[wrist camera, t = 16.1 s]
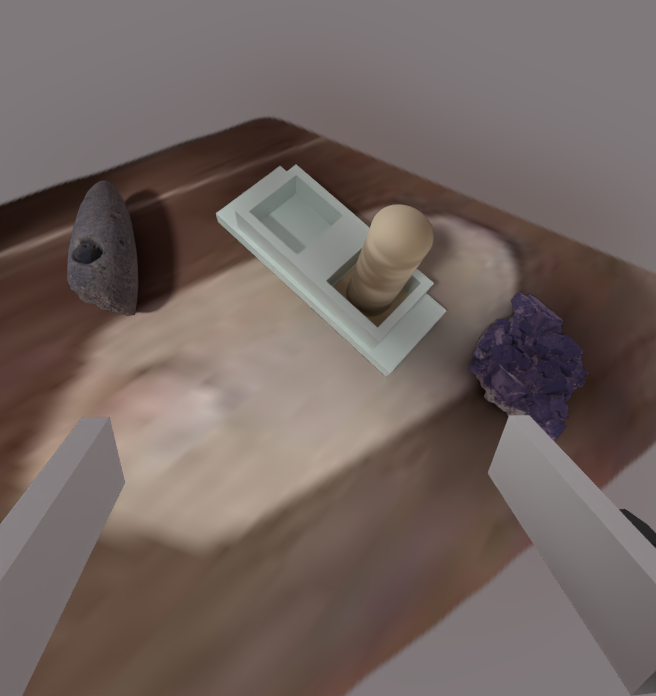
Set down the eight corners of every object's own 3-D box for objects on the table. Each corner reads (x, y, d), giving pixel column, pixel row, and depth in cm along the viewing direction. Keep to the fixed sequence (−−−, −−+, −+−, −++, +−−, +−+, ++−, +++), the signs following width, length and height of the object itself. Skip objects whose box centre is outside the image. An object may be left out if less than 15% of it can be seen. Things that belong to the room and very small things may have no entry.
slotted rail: (218, 221, 43) (211, 195, 38) (280, 175, 45) (280, 145, 41) (386, 376, 39) (398, 366, 35) (441, 315, 42) (459, 299, 38)
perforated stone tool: (98, 205, 42) (63, 157, 35) (147, 204, 42) (122, 156, 36) (91, 331, 37) (50, 303, 31) (146, 326, 38) (118, 298, 32)
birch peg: (336, 296, 40) (357, 233, 28) (365, 265, 41) (396, 193, 29) (372, 325, 39) (408, 274, 28) (400, 293, 41) (445, 231, 29)
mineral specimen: (585, 357, 44) (616, 345, 40) (529, 444, 39) (559, 440, 35) (510, 294, 45) (534, 277, 41) (448, 371, 40) (468, 360, 36)
